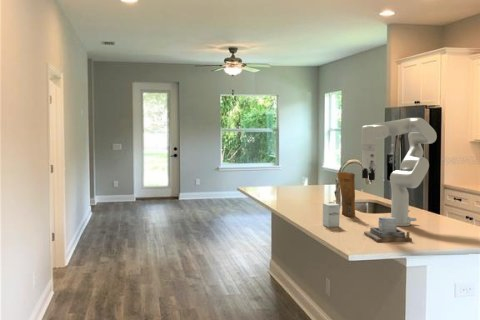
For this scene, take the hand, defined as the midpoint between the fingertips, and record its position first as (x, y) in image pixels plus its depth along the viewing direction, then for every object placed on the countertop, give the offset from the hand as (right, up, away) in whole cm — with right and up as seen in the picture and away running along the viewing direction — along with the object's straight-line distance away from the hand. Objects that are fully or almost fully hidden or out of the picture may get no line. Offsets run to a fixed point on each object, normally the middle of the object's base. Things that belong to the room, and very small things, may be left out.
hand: (368, 179), depth 269 cm
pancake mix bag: (-1, -25, +46) cm, 53 cm away
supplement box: (-18, -28, +12) cm, 35 cm away
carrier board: (+5, -29, -18) cm, 35 cm away
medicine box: (+5, -28, -19) cm, 34 cm away
